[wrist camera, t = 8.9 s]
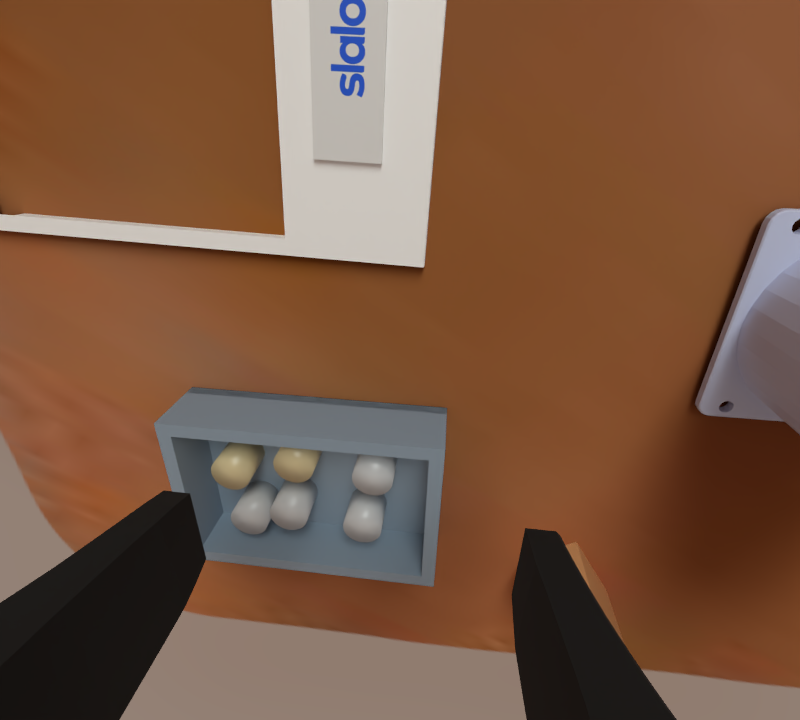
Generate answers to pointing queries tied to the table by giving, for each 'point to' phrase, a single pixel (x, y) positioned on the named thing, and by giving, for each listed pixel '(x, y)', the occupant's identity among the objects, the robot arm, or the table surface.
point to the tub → (310, 481)
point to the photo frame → (333, 138)
